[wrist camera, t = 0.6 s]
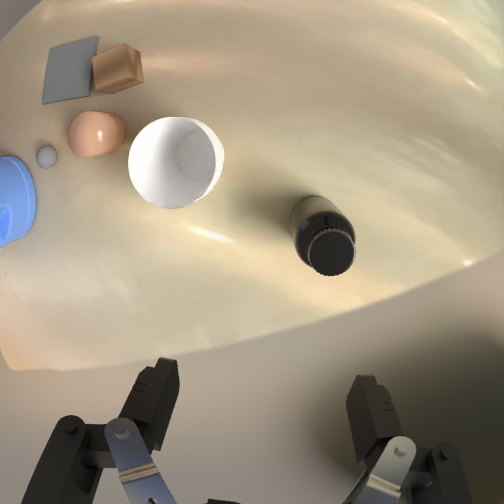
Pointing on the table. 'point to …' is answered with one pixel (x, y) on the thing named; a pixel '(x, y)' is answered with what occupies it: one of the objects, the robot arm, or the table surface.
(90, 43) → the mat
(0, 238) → the water jug
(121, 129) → the peach rounded capsule
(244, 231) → the table surface
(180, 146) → the cup
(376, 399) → the robot arm
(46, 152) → the grey ball
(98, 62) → the walnut block
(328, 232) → the supplement bottle
